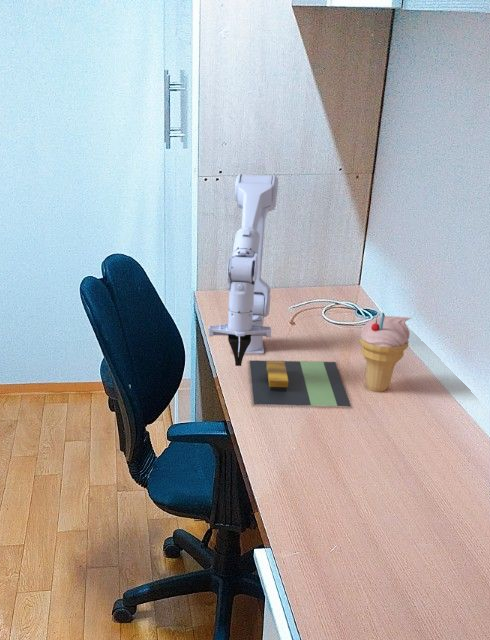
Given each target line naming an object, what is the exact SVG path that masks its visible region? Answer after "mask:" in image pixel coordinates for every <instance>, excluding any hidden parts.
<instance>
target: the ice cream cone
mask: <svg viewBox="0 0 490 640" xmlns="http://www.w3.org/2000/svg"><path fill="white" fill-rule="evenodd" d="M411 319H412V317H407V316H393V315H392V316H391V315H385V313H384V312H382V313H381V316H380V317H376V318H375V317H374V318H372V319H371V320H369V321H367V322H366V323H365V324H364V325H363V326H362V328H361V330H360V331H361V332H360V333H361V336H360V338H359V343H360V345H361V346H362V348H361V354H362V356H363V357H364V359H365V363H366V364H365V365H366V369H365V383H366V386H367V389H368V390H369V391H372V392H378V393H381V392H386V390H387V389H388V387H389V386H390V384H391V380H392V377H393V373H394V370H395V366H396V365H397V363H398V362H399V361H400V360H402V359H403V357H404V351H405V350H407V348H408V347H409V344H410V343H409V341H410V340H409V339H410V330H409V328H408V326H407V324H406V322H407V321H409V320H411Z"/></svg>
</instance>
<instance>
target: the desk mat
mask: <svg viewBox="0 0 490 640" xmlns="http://www.w3.org/2000/svg"><path fill="white" fill-rule="evenodd" d="M267 361H268V360H249V366H250V377H251V386H252V387H251V388H252V398H253V405H264V406H265V405H266V406H312V407H313V406H314V407H316V406H317V407H351V402H350V401H349V398H348V395H347V392H346V390H345V387H344V382H343V380H342V378H341V374H340V373H339V370H338V366H337V364H336V362H335V361H292V360H290V361H289V360H288V361H287V360H281V361H282V362H285V367H286V372H287V377H288V387H286V391H270V387H269V382H268V375H267V368H266V364H267Z"/></svg>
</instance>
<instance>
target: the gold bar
mask: <svg viewBox="0 0 490 640" xmlns="http://www.w3.org/2000/svg"><path fill="white" fill-rule="evenodd" d="M266 361H267V364H266V368H267V375H268V382H269V387H270V391H286V387H288V377H287V372H286V367H285V362H282V361H283V360H266Z"/></svg>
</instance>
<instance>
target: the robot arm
mask: <svg viewBox="0 0 490 640" xmlns="http://www.w3.org/2000/svg"><path fill="white" fill-rule="evenodd" d="M278 187H279V177H278V176H277V175H276V174H273V175H268V174H267V175H266V174H242V173H238V174H237V176H236V177H235V184H234V199H235V202H236V205H237V206H238V209H240V210H242V214H241V228H239V229H238V230H237V231H236V232H235V235H234V241H233V247H232V253H231V258H228V262H227V267H226V269H227V270H226V279H227V290H228V311H227V312H228V313H227V324H226V323H225V324H218V325H217V324H216V325H208V337H214V336H226V337H227V341H228V344H229V346H230V348H231V350H232V353H233V357H234V365H235V367H241V366H242V363H243V360H244V356H245V354H254V355H255V354H257V355H263V354H265V349H264V341H263V338H264V337H266V338H271V337H272V327H271V326H266V325H265V326H264V321H265V318H267V317H268V316H269V314H270V310H271V309H270V308H271V288H270V285H269V284H268V283H267V282H266V281H264V279H262V267H263V253H264V240H265V239H264V237H265V227H266V226H265V224H266V218H267V215H268V213H269V212H273V211H275V209H276V206H277V198H278V190H279V189H278Z"/></svg>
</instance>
